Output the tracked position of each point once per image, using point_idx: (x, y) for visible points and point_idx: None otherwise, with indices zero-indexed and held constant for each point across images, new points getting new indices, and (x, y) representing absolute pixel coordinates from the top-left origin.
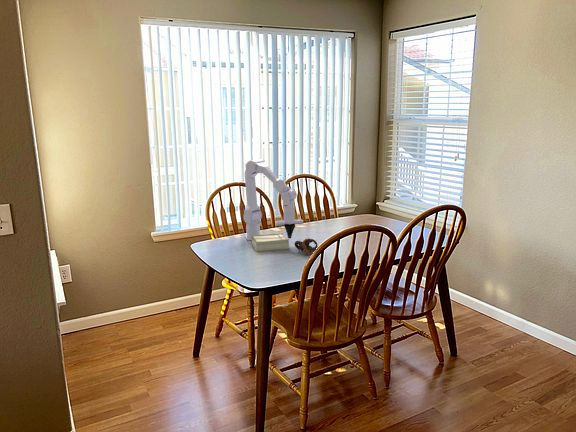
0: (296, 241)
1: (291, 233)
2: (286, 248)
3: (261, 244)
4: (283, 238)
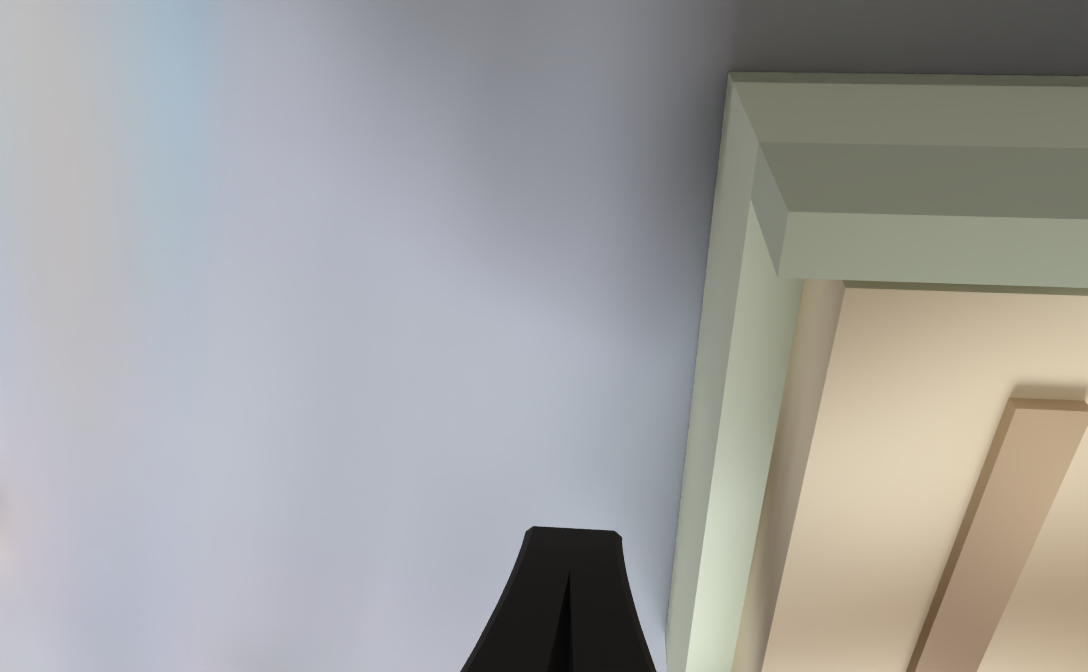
0: None
1: (497, 668)
2: (820, 83)
3: None
4: (898, 483)
